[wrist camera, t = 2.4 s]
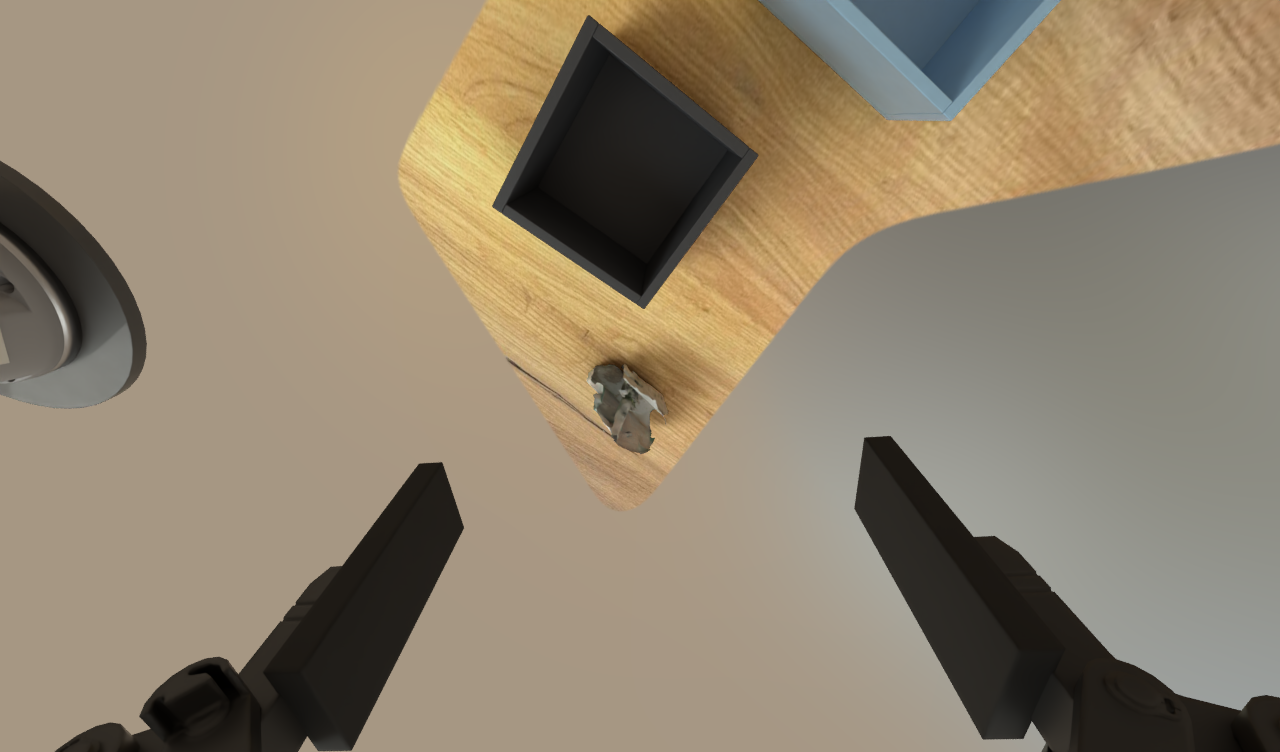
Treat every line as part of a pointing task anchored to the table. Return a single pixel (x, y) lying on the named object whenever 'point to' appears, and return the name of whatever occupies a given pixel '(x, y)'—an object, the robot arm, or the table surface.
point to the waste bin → (621, 167)
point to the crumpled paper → (626, 405)
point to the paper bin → (913, 47)
